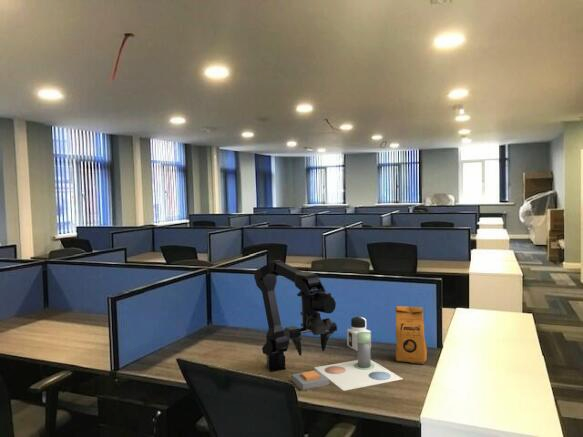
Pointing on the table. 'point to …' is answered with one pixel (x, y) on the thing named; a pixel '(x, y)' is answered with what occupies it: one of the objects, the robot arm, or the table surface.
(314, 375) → the button
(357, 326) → the container
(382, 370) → the white square board
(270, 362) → the robot arm
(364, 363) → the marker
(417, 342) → the coffee package
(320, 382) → the button housing
